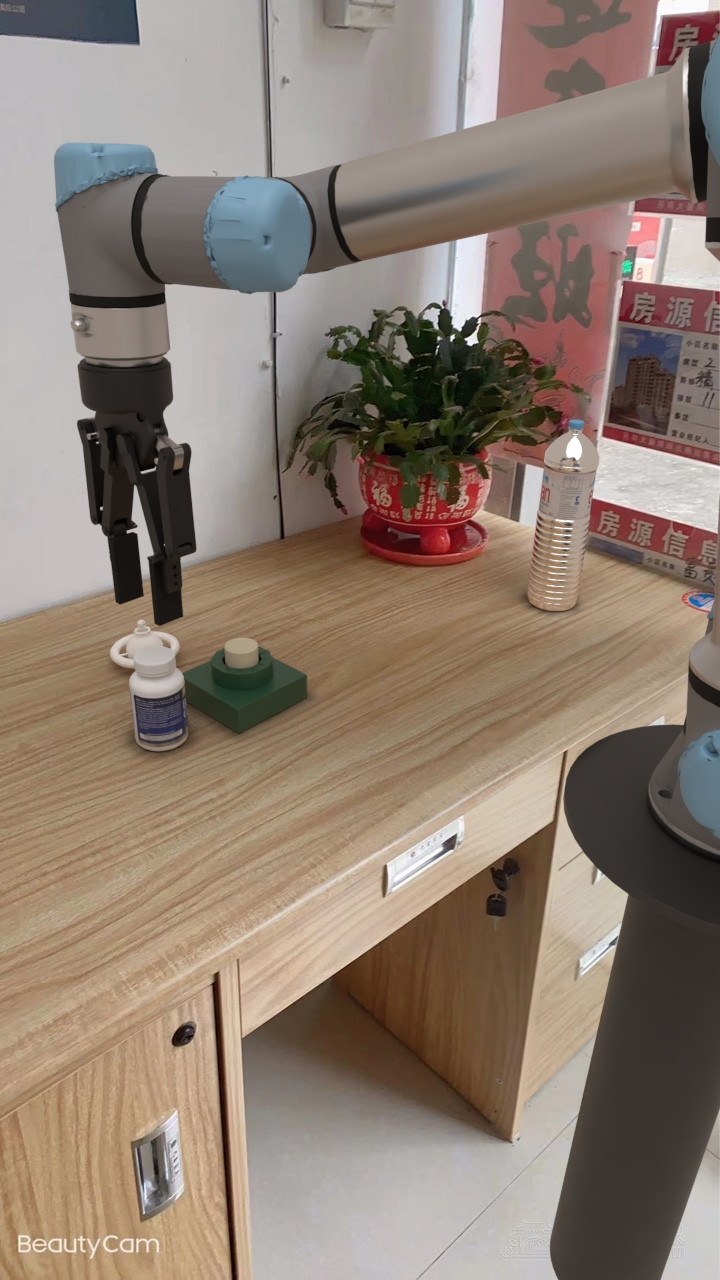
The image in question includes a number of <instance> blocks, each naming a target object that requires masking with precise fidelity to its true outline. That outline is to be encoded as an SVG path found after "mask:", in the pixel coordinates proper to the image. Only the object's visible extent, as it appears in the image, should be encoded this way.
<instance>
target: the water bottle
mask: <svg viewBox="0 0 720 1280" xmlns="http://www.w3.org/2000/svg"><path fill="white" fill-rule="evenodd" d="M567 428H568V431H567V432H565V433H563V434H562V435H560V436H558V437H557V438H556V439H554V441H552V443H550V445H548V447H547V448H546V449H545V451H544V458H543V473H542V481H541V488H540V494H539V502H538V509H537V512H536V518H535V519H536V520H535V530H534V537H533V543H532V552H531V561H530V568H529V574H528V581H527V582H528V584H527V592H526V593H527V595H526V596H527V599H528V602H529V604H531V605H532V606H533V607H535V608H537V609H540V610H543V611H547V612H565V611H569V610H571V609H573V608H574V607H575V606H576V605H577V604H576V603H577V601H578V597H579V591H580V585H581V578H582V572H583V565H584V559H585V553H586V546H587V541H588V540H587V539H588V535H589V534H588V533H589V527H590V520H591V511H592V510H591V509H592V502H593V496H594V491H595V490H594V489H595V485H596V484H595V483H596V476H597V470H598V469H599V465H600V464H599V463H600V454H599V452H598V450H597V448H596V446H595V444H594V443H593V442H592V440H591V439H590V438H589V437H588V436H587V435H585V434H584V433H583V430H584V428H585V421H584V420H582V419H577V418H576V419H575V418H574V419H569V421H568V427H567Z"/></svg>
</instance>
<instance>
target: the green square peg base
mask: <svg viewBox="0 0 720 1280" xmlns="http://www.w3.org/2000/svg"><path fill="white" fill-rule="evenodd" d="M258 656H259V662H258V664H257V665H255V666H253V667H250V668H243V669H238V668H230V667H228V666H227V665H226V664H225V649H224V647H223V648H221V649H219V650H217V651H215V653H213V655H212V657H211V658H210V660H208V661H206V662H203V663H201V664H199V665H197V666H195V667H192V668H190V669H188V670H185V671H183V672H182V674H183V676H184V681H185V693H186V703H188V704H189V705H191V706H192V707H194V708H196V709H197V710H199V711H201V712H202V713H204V714H206V715H207V716H209V717H210V718H212V719H213V720H215V721H216V722H218V723H220V724H222V725H224V726H225V727H227V728H228V729H230V730H231V731H233V732H235V733H236V734H241V733H242V732H243V733H244V732H245V731H246V730H249V729H250V728H252V727H254V726H257V725H258V724H260V723H262V722H263V721H265V720H268V719H269V718H271V717H274V716H275V715H277V714H280V713H281V712H283V711H285V710H287V709H288V708H291V707H292V706H294V705H296V704H298V703H300V702H302V701H303V700H306V699H307V698H308V675H307V674H306V673H305V672H302V671H300V670H298V669H296V668H294V667H292V666H291V665H289V664H287V663H285V662H283V661H281V660H279V659H277V658H276V657H273V656H272V654H271V652H270V651H269V650H267V649H266V648H264V647H262V646H260V645H258Z"/></svg>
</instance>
